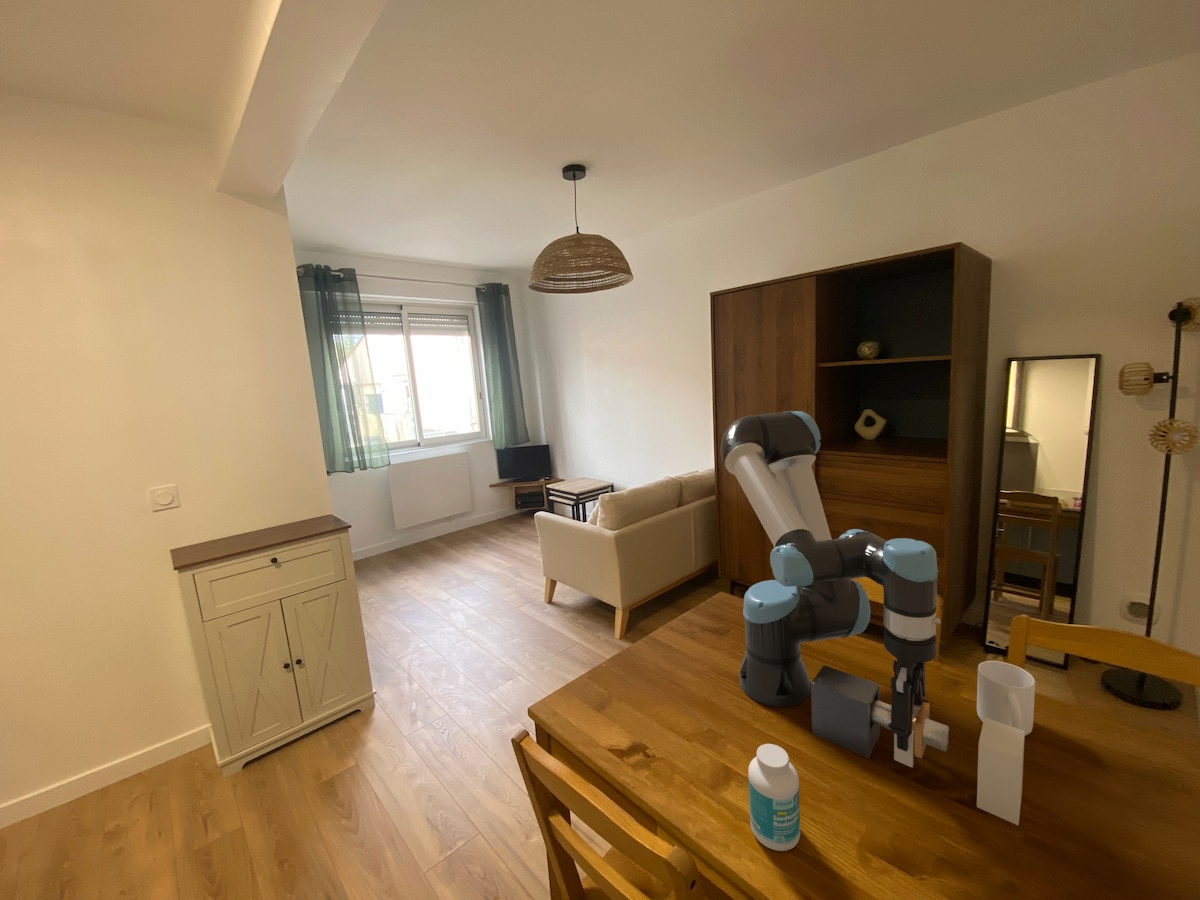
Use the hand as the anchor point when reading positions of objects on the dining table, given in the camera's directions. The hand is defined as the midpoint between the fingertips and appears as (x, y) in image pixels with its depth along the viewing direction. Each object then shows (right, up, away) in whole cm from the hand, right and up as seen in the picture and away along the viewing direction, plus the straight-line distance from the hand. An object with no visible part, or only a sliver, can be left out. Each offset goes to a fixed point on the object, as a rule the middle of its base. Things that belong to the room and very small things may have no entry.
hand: (908, 749), depth 84 cm
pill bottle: (-27, -7, -10) cm, 30 cm away
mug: (+22, 0, +6) cm, 23 cm away
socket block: (+9, -3, -8) cm, 13 cm away
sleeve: (-7, -2, +8) cm, 11 cm away
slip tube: (-3, +2, +3) cm, 5 cm away
